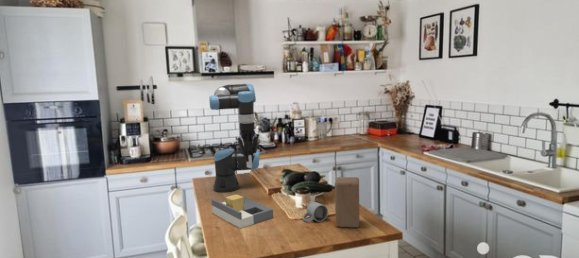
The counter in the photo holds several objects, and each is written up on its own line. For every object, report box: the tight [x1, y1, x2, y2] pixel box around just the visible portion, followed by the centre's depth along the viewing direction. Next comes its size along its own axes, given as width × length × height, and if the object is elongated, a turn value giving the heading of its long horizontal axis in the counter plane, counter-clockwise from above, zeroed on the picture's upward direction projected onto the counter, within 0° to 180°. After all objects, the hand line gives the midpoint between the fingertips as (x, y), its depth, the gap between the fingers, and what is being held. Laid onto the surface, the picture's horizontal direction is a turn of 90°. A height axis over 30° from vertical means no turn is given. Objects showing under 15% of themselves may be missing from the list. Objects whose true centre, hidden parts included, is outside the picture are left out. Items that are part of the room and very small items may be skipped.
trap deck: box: [211, 196, 274, 229], centre depth 184 cm, size 18×26×7 cm
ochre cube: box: [225, 194, 244, 211], centre depth 181 cm, size 6×6×6 cm
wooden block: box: [334, 176, 360, 228], centre depth 168 cm, size 10×10×20 cm
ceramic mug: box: [302, 201, 329, 223], centre depth 175 cm, size 11×8×8 cm
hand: (249, 167), depth 198 cm, fingers closed
